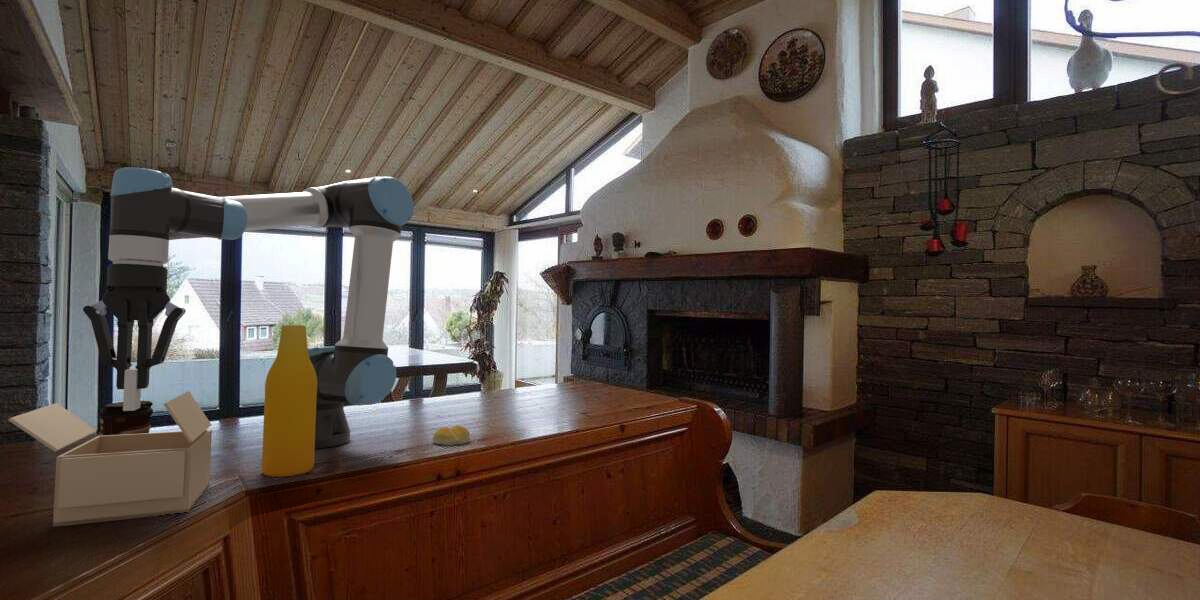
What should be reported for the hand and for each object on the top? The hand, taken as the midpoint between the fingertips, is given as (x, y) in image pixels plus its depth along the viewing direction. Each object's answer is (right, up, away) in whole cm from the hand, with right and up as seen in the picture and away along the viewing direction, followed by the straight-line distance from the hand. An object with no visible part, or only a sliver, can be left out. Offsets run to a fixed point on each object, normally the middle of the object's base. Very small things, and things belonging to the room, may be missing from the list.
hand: (131, 409), depth 89 cm
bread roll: (+39, -18, +49) cm, 65 cm away
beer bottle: (+14, -17, +20) cm, 30 cm away
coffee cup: (-18, -16, +19) cm, 30 cm away
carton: (+1, -15, 0) cm, 15 cm away
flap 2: (+7, -2, +3) cm, 8 cm away
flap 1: (-8, -2, -4) cm, 9 cm away
